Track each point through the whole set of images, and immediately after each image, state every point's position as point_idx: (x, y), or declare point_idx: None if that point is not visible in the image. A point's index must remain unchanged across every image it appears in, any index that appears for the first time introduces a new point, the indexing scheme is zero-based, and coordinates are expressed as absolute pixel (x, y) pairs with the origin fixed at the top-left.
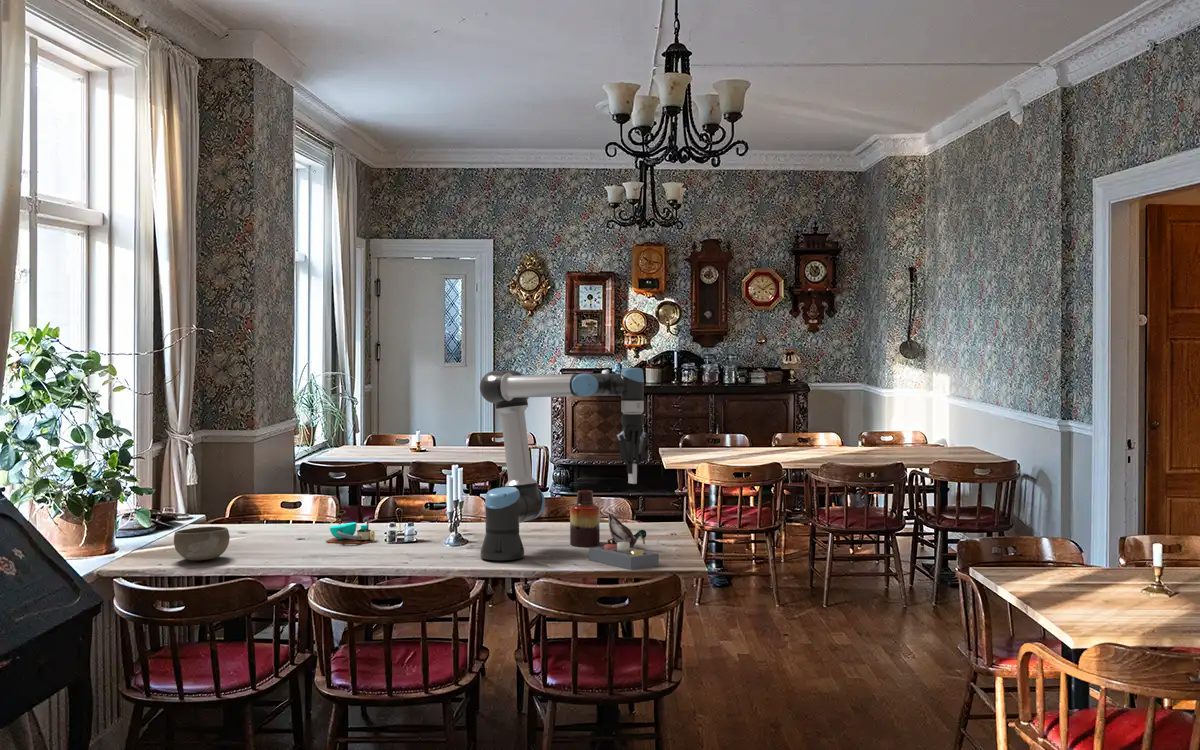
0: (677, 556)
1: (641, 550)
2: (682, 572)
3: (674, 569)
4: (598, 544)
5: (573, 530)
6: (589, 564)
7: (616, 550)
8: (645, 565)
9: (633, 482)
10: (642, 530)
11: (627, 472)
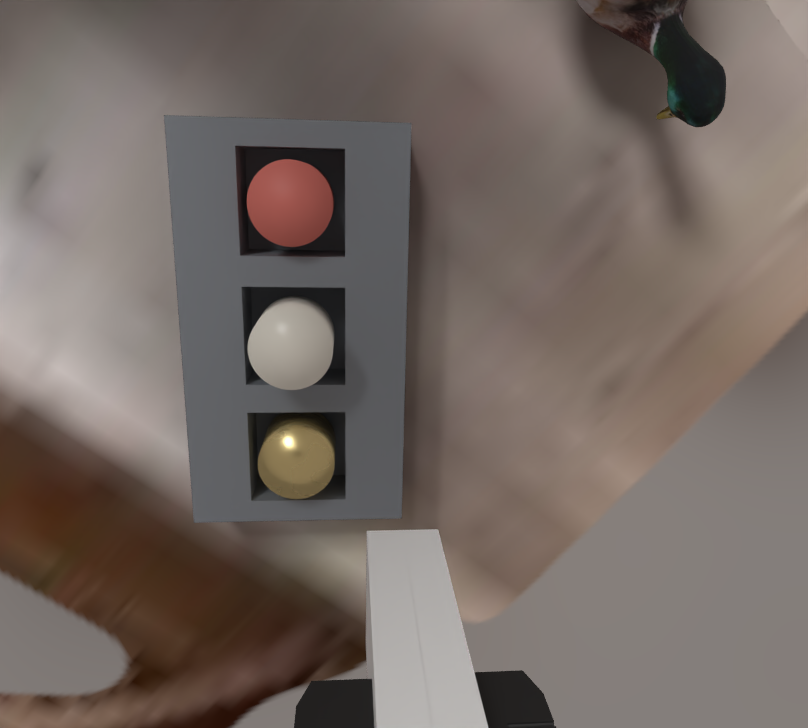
0: (659, 358)
1: (322, 474)
2: None
3: None
4: None
5: None
6: (107, 236)
7: (279, 286)
8: None
9: (366, 656)
10: (700, 100)
11: (303, 708)
